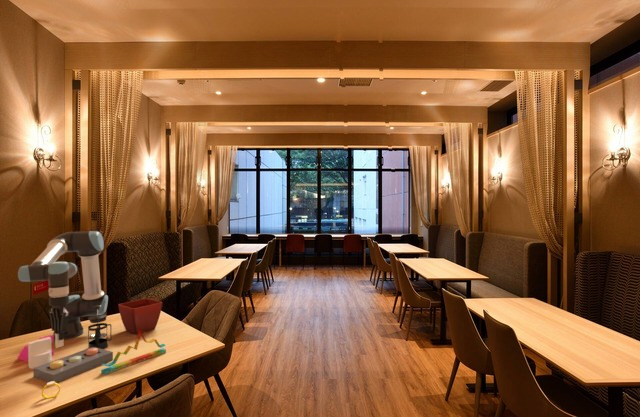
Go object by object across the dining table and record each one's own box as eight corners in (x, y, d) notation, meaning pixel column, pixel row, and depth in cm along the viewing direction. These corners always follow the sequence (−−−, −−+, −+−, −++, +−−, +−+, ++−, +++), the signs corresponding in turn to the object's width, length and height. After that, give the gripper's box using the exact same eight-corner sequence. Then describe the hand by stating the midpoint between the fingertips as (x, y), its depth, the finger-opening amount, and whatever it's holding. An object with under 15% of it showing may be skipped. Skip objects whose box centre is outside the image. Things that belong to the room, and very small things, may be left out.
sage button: (66, 365, 170) (66, 359, 170) (77, 361, 174) (77, 355, 174) (72, 367, 168) (72, 360, 167) (83, 363, 172) (83, 356, 172)
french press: (85, 352, 189) (84, 309, 189) (87, 346, 198) (86, 305, 198) (111, 348, 195) (110, 306, 195) (111, 342, 203) (111, 302, 203)
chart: (104, 375, 163) (104, 343, 163) (101, 373, 165) (100, 341, 165) (166, 353, 188) (165, 324, 188) (162, 351, 190) (162, 323, 190)
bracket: (53, 355, 187) (53, 335, 187) (31, 362, 177) (30, 342, 177) (40, 351, 192) (40, 332, 192) (17, 358, 182) (17, 338, 182)
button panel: (33, 376, 162) (33, 368, 162) (93, 354, 186) (93, 346, 186) (53, 384, 155) (53, 374, 155) (112, 359, 180) (112, 351, 179)
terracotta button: (83, 356, 177) (83, 350, 177) (93, 353, 181) (93, 347, 181) (90, 358, 175) (89, 352, 175) (100, 354, 179) (100, 348, 179)
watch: (41, 401, 142) (40, 386, 142) (43, 398, 144) (41, 383, 144) (60, 396, 145) (58, 381, 145) (61, 393, 147) (59, 379, 147)
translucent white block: (33, 370, 169) (32, 345, 169) (25, 366, 174) (24, 341, 174) (55, 363, 177) (54, 339, 176) (47, 359, 181) (46, 335, 181)
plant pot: (147, 322, 237) (147, 297, 237) (163, 328, 226) (163, 301, 226) (117, 331, 222) (117, 304, 222) (133, 337, 211) (132, 309, 211)
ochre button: (47, 370, 162) (47, 363, 162) (59, 365, 167) (59, 359, 167) (53, 372, 160) (53, 365, 160) (65, 367, 165) (65, 361, 165)
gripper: (41, 296, 164) (42, 347, 164) (58, 298, 158) (59, 351, 158) (59, 292, 171) (59, 341, 171) (76, 295, 165) (76, 345, 165)
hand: (59, 346), depth 164 cm, fingers closed
